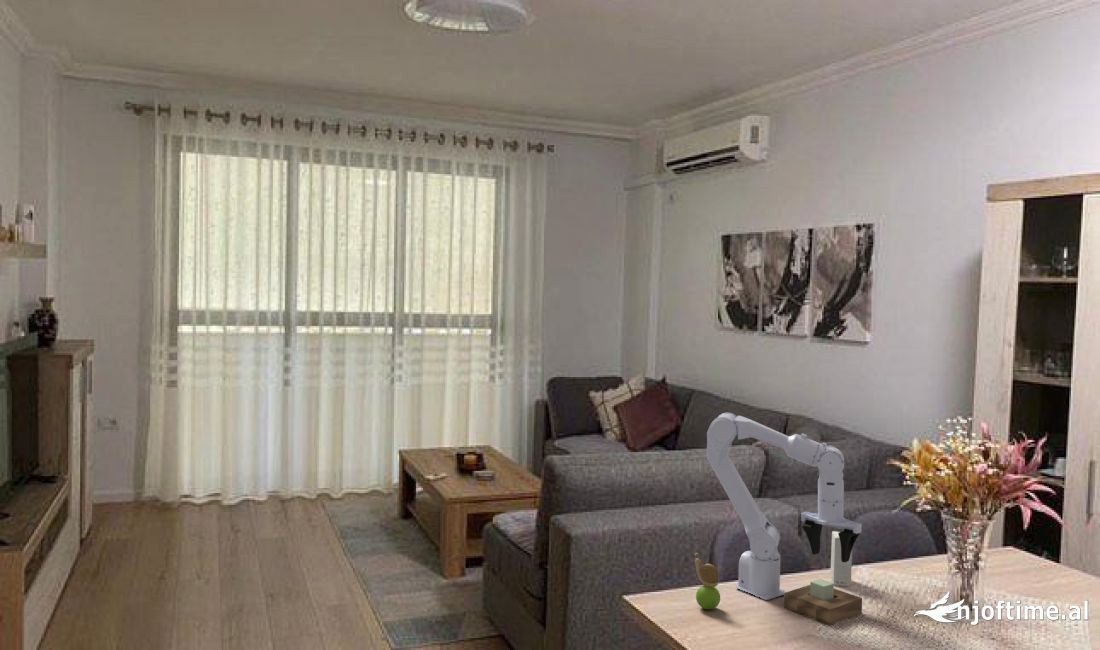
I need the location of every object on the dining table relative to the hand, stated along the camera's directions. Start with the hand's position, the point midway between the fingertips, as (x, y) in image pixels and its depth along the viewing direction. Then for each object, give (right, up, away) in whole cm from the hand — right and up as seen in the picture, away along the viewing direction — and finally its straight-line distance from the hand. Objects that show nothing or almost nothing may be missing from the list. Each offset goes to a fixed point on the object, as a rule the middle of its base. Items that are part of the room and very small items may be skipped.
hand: (830, 557), depth 191 cm
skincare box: (+7, -10, +14) cm, 18 cm away
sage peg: (-4, -10, -6) cm, 12 cm away
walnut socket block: (-4, -11, -5) cm, 12 cm away
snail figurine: (-30, -10, -5) cm, 32 cm away
